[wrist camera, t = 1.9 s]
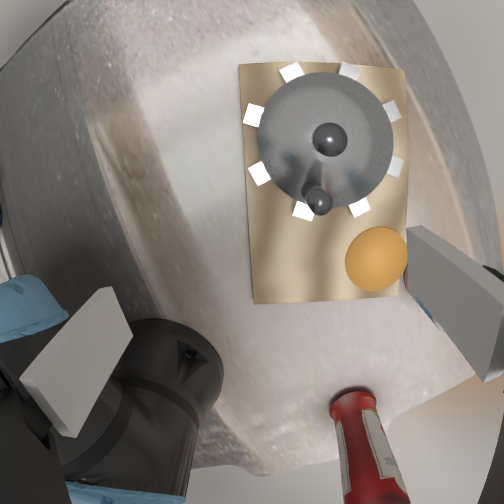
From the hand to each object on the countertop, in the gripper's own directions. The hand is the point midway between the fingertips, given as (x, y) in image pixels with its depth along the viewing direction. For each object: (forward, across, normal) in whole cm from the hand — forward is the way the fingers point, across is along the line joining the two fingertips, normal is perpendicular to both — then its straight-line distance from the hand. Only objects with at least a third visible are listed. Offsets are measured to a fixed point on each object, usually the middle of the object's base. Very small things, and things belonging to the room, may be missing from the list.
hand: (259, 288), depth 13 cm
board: (+19, +7, 0) cm, 20 cm away
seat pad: (+17, +10, -8) cm, 22 cm away
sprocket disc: (+17, +7, +5) cm, 19 cm away
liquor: (+19, +7, -30) cm, 36 cm away
